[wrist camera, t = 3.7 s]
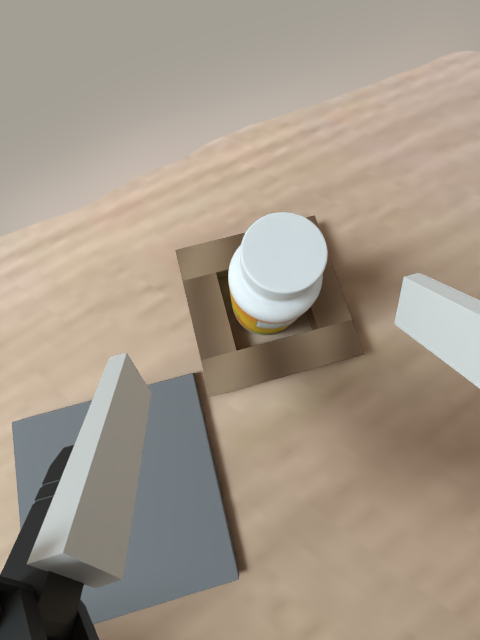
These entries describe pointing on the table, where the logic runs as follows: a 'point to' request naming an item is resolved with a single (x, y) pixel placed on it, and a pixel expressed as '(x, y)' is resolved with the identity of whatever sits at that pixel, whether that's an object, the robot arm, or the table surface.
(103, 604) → the mat
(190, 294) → the socket block
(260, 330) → the supplement bottle
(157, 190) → the table surface
